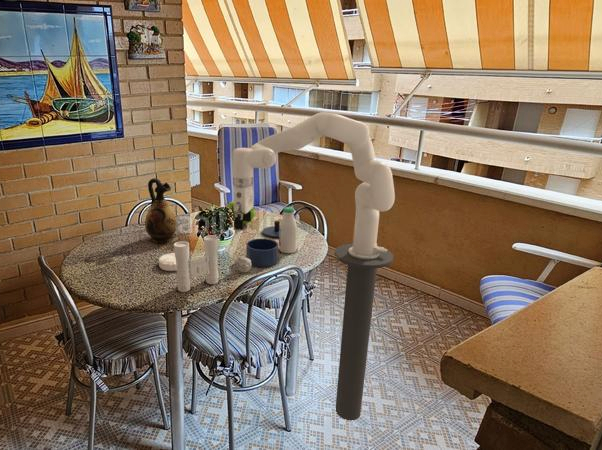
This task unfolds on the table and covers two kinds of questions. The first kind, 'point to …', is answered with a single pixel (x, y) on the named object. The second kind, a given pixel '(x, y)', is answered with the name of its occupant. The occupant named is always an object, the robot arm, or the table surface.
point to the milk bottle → (288, 231)
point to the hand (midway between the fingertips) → (242, 225)
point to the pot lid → (272, 230)
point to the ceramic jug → (160, 214)
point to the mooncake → (168, 262)
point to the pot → (262, 252)
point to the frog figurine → (243, 263)
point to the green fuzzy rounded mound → (231, 206)
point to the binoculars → (196, 263)
